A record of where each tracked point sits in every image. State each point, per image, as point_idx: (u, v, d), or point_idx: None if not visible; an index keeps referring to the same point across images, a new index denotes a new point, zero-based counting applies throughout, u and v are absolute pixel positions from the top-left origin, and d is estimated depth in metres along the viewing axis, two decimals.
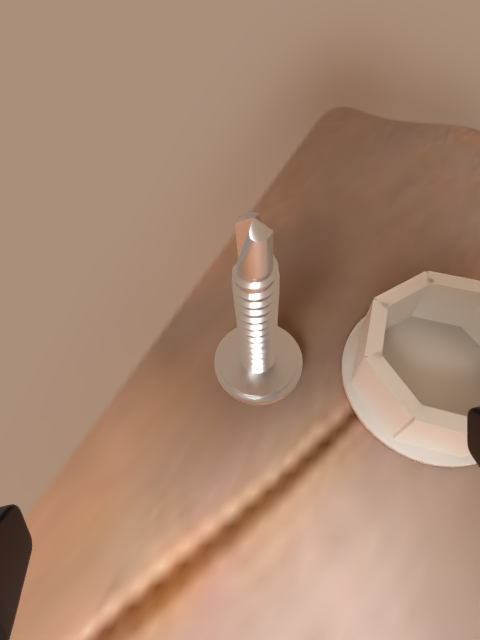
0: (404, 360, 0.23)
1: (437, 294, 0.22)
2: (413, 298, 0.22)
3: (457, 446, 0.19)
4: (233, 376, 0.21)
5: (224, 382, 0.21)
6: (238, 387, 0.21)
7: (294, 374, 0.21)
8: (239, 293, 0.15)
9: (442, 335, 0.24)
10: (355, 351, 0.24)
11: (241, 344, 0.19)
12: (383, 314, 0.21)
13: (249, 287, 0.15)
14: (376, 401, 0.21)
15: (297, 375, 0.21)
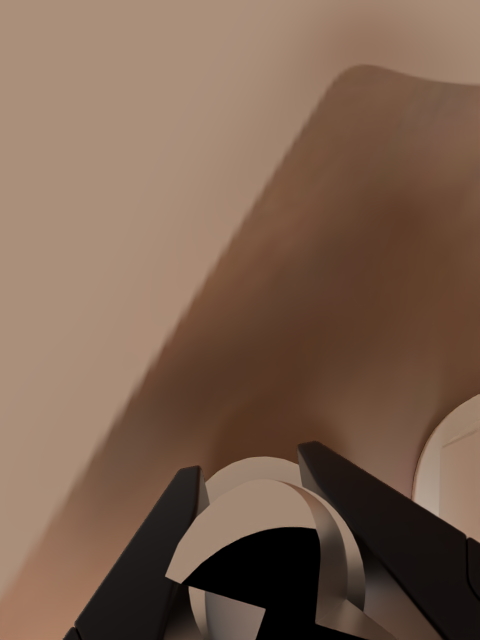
0: None
1: None
2: None
3: None
4: None
5: None
6: None
7: None
8: None
9: None
10: (438, 495, 0.13)
11: None
12: None
13: None
14: None
15: None
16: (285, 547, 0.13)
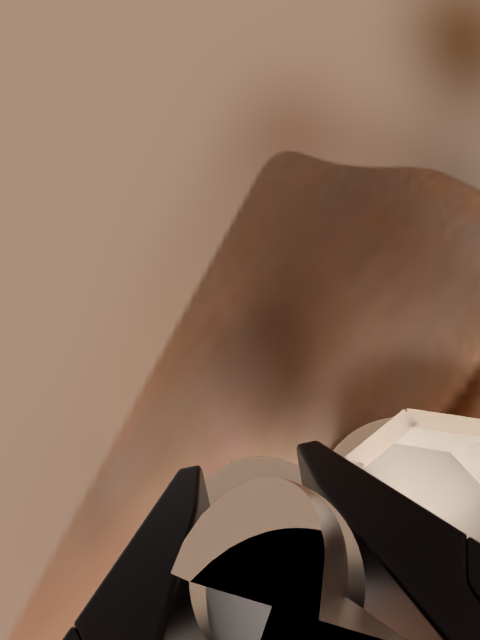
0: None
1: (420, 433, 0.18)
2: None
3: None
4: None
5: None
6: None
7: None
8: None
9: (429, 467, 0.20)
10: None
11: None
12: None
13: None
14: None
15: None
16: (282, 546, 0.13)
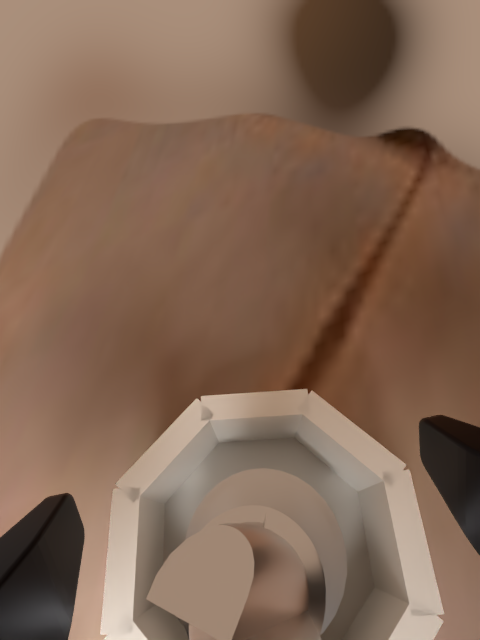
0: None
1: (230, 425, 0.13)
2: (192, 447, 0.13)
3: None
4: None
5: None
6: None
7: (333, 589, 0.11)
8: None
9: (269, 463, 0.15)
10: None
11: None
12: (132, 518, 0.11)
13: None
14: None
15: (338, 587, 0.11)
16: None
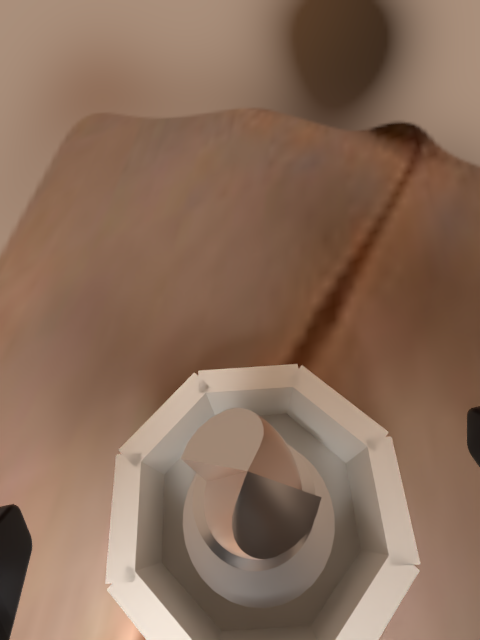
0: None
1: (226, 399, 0.14)
2: (190, 419, 0.14)
3: None
4: (216, 555, 0.12)
5: (200, 563, 0.12)
6: (226, 578, 0.12)
7: (322, 545, 0.12)
8: None
9: None
10: None
11: None
12: (134, 480, 0.12)
13: (240, 564, 0.05)
14: None
15: (326, 545, 0.12)
16: None
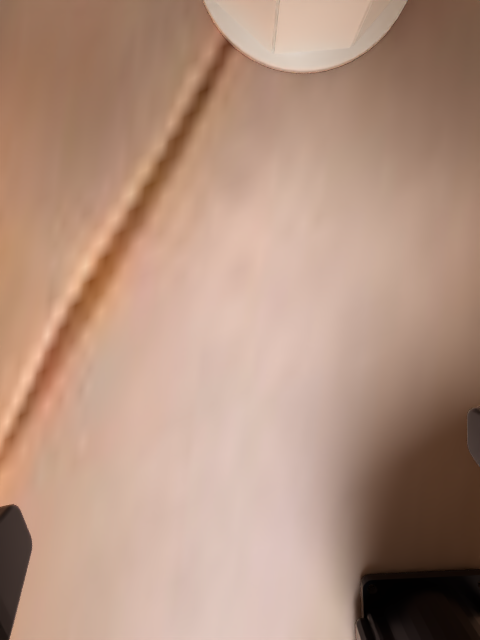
0: None
1: None
2: None
3: (339, 27, 0.17)
4: None
5: None
6: None
7: None
8: None
9: None
10: None
11: None
12: None
13: None
14: (242, 6, 0.17)
15: None
16: None
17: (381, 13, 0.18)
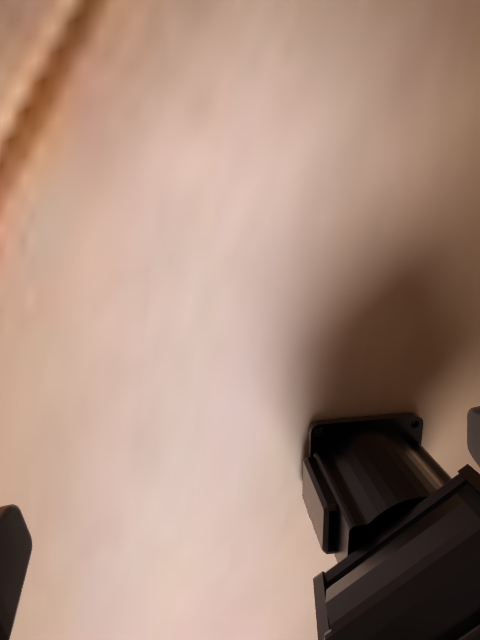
0: None
1: None
2: None
3: None
4: None
5: None
6: None
7: None
8: None
9: None
10: None
11: None
12: None
13: None
14: None
15: None
16: None
17: None
